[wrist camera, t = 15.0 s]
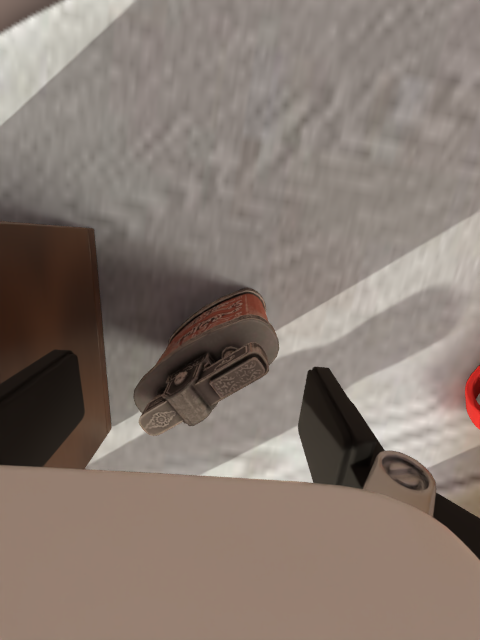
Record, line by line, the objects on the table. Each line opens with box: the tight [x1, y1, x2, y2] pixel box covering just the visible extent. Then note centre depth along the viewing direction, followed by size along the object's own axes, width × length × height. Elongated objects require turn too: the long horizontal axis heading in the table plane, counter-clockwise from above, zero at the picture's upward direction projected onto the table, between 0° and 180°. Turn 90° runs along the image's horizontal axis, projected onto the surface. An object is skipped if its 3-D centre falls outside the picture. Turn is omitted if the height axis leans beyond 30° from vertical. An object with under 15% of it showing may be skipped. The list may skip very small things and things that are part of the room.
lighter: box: [134, 288, 279, 436], centre depth 15 cm, size 8×3×10 cm, turn 123°
